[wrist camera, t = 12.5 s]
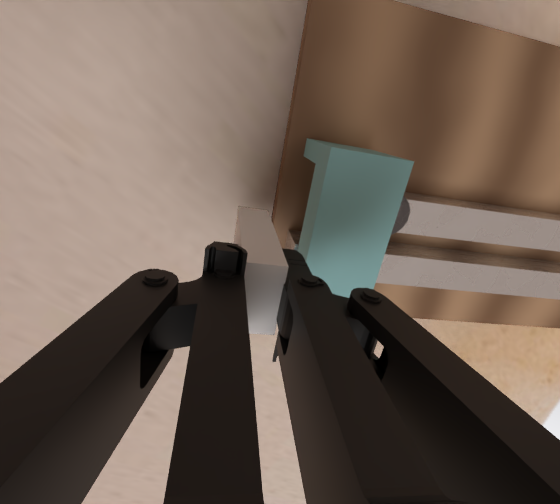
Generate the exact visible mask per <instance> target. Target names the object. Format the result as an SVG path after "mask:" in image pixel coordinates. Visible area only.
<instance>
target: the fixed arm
mask: <svg viewBox="0 0 560 504" xmlns="http://www.w3.org/2000/svg"><path fill="white" fill-rule="evenodd" d="M301 232H302V231H295V230H288V234H287V239H286V244H285V249H292V250H297V251H298V246H299V241H300V236H301ZM376 283H383V284H394V285H405V286H416V287H427V288H438V289H449V290H460V291H471V292H482V293H493V294H503V295H514V296H525V297H536V298H547V299H558V300H560V262H555V261H546V260H538V259H530V258H521V257H513V256H504V255H496V254H488V253H479V252H471V251H463V250H454V249H446V248H437V247H429V246H421V245H412V244H404V243H395V242H388V245H387V249H386V252H385V255H384V258H383V261H382V264H381V267H380V270H379V274H378V277H377V280H376Z"/></svg>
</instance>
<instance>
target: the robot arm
mask: <svg viewBox="0 0 560 504" xmlns="http://www.w3.org/2000/svg"><path fill="white" fill-rule="evenodd" d="M178 282H179V280H178V278H177V276H176V275H175V274H173V273H172V272H168V271H165V270H159V269H147V270H144V271H140V272H137V273H136V274H134V275H132V276H131V277H130V278H129V279H127V280H126V281H125V282H124V283H122V284H121V285H120V286H119V287H118V288H116V289H115V290H114V291H113V292H111V293H110V294H109V295H108V296H107V297H105V298H104V299H103V300H102V301H100V302H99V303H98V304H97V305H96V306H94V307H93V308H92V309H91V310H89V311H88V312H87V313H86V314H85V315H83V316H82V317H81V318H80V319H78V320H77V321H76V322H75V323H74V324H72V325H71V326H70V327H69V328H67V329H66V330H65V331H64V332H63V333H61V334H60V335H59V336H58V337H56V338H55V339H54V340H53V341H51V342H50V343H49V344H48V345H47V346H45V347H44V348H43V349H42V350H40V351H39V352H38V353H37V354H36V355H34V356H33V357H32V358H31V359H29V360H28V361H27V362H26V363H25V364H23V365H22V366H21V367H20V368H18V369H17V370H16V371H15V372H14V373H12V374H11V375H10V376H9V377H7V378H6V379H5V380H4V381H3V382H1V383H0V504H81V503H82V502H83V500H84V498H85V497H86V495H87V494H88V492H89V490H90V489H91V487H92V485H93V484H94V482H95V481H96V479H97V477H98V476H99V474H100V472H101V471H102V469H103V468H104V466H105V464H106V463H107V461H108V459H109V458H110V456H111V455H112V453H113V451H114V450H115V448H116V446H117V445H118V443H119V442H120V440H121V438H122V437H123V435H124V433H125V432H126V430H127V429H128V427H129V425H130V424H131V422H132V421H133V419H134V417H135V416H136V414H137V412H138V411H139V409H140V408H141V406H142V404H143V403H144V401H145V399H146V398H147V396H148V395H149V393H150V391H151V390H152V388H153V386H154V385H155V383H156V382H157V380H158V378H159V377H160V375H161V373H162V372H163V370H164V369H165V367H166V365H167V364H168V362H169V361H170V359H171V357H172V355H173V352H174V349H175V348H181V347H187V346H190V351H189V357H188V363H187V369H186V375H185V380H184V386H183V392H182V398H181V404H180V410H179V416H178V422H177V427H176V433H175V439H174V445H173V451H172V457H171V463H170V468H169V474H168V480H167V486H166V492H165V498H164V503H163V504H264V501H263V493H262V481H261V469H260V457H259V445H258V433H257V422H256V410H255V398H254V386H253V374H252V362H251V350H250V338H249V333H250V334H267V335H274V334H275V329H276V324H278V329H279V331H278V336H277V341H276V345H275V350H274V355H273V361H272V362H276V358H277V356H279V361H280V366H281V371H282V377H283V382H284V387H285V393H286V398H287V403H288V408H289V414H290V419H291V424H292V430H293V435H294V440H295V445H296V451H297V456H298V461H299V466H300V472H301V477H302V482H303V488H304V493H305V498H306V503H307V504H560V440H559V439H557V438H556V437H555V436H554V435H553V434H552V433H550V432H549V431H548V430H547V429H545V428H544V427H543V426H542V425H541V424H539V423H538V422H537V421H536V420H535V419H533V418H532V417H531V416H530V415H529V414H527V413H526V412H525V411H524V410H522V409H521V408H520V407H519V406H518V405H516V404H515V403H514V402H513V401H512V400H510V399H509V398H508V397H507V396H506V395H504V394H503V393H502V392H501V391H500V390H498V389H497V388H496V387H495V386H493V385H492V384H491V383H490V382H489V381H487V380H486V379H485V378H484V377H483V376H481V375H480V374H479V373H478V372H477V371H475V370H474V369H473V368H472V367H470V366H469V365H468V364H467V363H466V362H464V361H463V360H462V359H461V358H460V357H458V356H457V355H456V354H455V353H454V352H452V351H451V350H450V349H449V348H447V347H446V346H445V345H444V344H443V343H441V342H440V341H439V340H438V339H437V338H435V337H434V336H433V335H432V334H431V333H429V332H428V331H427V330H426V329H424V328H423V327H422V326H421V325H420V324H418V323H417V322H416V321H415V320H414V319H412V318H411V317H410V316H409V315H408V314H406V313H405V312H404V311H403V310H401V309H400V308H399V307H398V306H397V305H395V304H394V303H393V302H392V301H391V300H389V299H388V298H387V297H386V296H384V295H383V294H381V293H379V292H377V291H375V290H374V289H369V288H355V289H353V290H352V291H351V293H350V297H349V298H347V297H343V296H339V295H335V294H332V292H331V290H330V288H329V286H328V285H327V283H326V282H325V281H324V280H322V279H321V278H319V277H317V276H314V275H312V273H311V271H310V269H309V267H308V265H307V263H306V262H305V259H304V257H303V255H302V254H300V253H299V252H298V251H297V250H292V249H283V248H282V247H281V245H280V242H279V239H278V237H277V234H276V231H275V228H274V226H273V223H272V220H271V218H270V215H269V212H268V210H261V209H254V208H247V207H238V214H237V222H236V229H235V237H234V244H232V243H223V242H215V241H214V242H213V243H212V244H210V245H208V246H207V247H206V248H205V257H204V267H203V275H202V277H200V278H199V279H197V280H194V281H191V282H184V283H178ZM377 341H379V342H380V343H381V344H382V345H383V346H384V348H383V351H382V354H381V356H380V358H378V357H377V356H376V355H375V354H374V353H373V352H374V350H375V347H376V344H377Z"/></svg>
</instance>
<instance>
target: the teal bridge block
mask: <svg viewBox="0 0 560 504" xmlns="http://www.w3.org/2000/svg"><path fill="white" fill-rule="evenodd" d="M304 157H306V158H307V159H309V160H311V161H312V162H314V163H315V169H314V174H313V179H312V183H311V188H310V193H309V198H308V203H307V208H306V212H305V217H304V222H303V227H302V232H301V236H300V241H299V246H298V252H299V253H300V254H302V255H303V257H304V259H305V262H306V263H307V265H308V267H309V269H310V271H311V273H312V275H314V276H317V277H319V278H321V279H322V280H324V281H325V282H326V283H327V285H328V286H329V288H330V290H331V292H332V294H335V295H339V296H343V297H347V298H349V297H350V293H351V291H352V290H353V289H355V288H369V289H374V286H375V283H376V280H377V277H378V274H379V270H380V267H381V264H382V261H383V258H384V255H385V252H386V249H387V245H388V242H389V239H390V236H391V233H392V230H393V227H394V224H395V220H396V217H397V214H398V211H399V208H400V205H401V202H402V199H403V195H404V192H405V189H406V186H407V183H408V180H409V177H410V173H411V170H412V167H413V164H414V161H411V160H407V159H403V158H400V157H396V156H392V155H389V154H385V153H382V152H378V151H374V150H370V149H365V148H359V147H354V146H348V145H342V144H337V143H331V142H325V141H320V140H314V139H308V138H307V140H306V145H305V151H304Z"/></svg>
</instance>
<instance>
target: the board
mask: <svg viewBox="0 0 560 504" xmlns="http://www.w3.org/2000/svg"><path fill="white" fill-rule="evenodd" d="M307 138H308V139H314V140H320V141H325V142H331V143H337V144H342V145H348V146H354V147H359V148H365V149H370V150H374V151H378V152H382V153H385V154H389V155H392V156H396V157H400V158H403V159H407V160H411V161H414V164H413V167H412V170H411V173H410V177H409V180H408V183H407V186H406V189H405V192H407V193H414V194H421V195H428V196H435V197H442V198H449V199H456V200H463V201H470V202H476V203H483V204H490V205H497V206H504V207H511V208H518V209H525V210H532V211H539V212H546V213H553V214H560V47H558V46H555V45H551V44H547V43H544V42H540V41H537V40H533V39H529V38H526V37H522V36H519V35H515V34H511V33H508V32H504V31H501V30H497V29H493V28H490V27H486V26H483V25H479V24H476V23H472V22H468V21H465V20H461V19H458V18H454V17H450V16H447V15H443V14H440V13H436V12H432V11H429V10H425V9H422V8H418V7H414V6H411V5H407V4H404V3H400V2H396V1H393V0H308V5H307V11H306V17H305V23H304V29H303V35H302V41H301V47H300V53H299V59H298V64H297V70H296V76H295V82H294V88H293V94H292V100H291V106H290V112H289V118H288V124H287V130H286V136H285V142H284V148H283V154H282V160H281V166H280V172H279V178H278V184H277V190H276V195H275V201H274V207H273V213H272V219H271V220H272V223H273V226H274V228H275V231H276V234H277V237H278V239H279V242H280V245H281V247H282V248H283V249H285V244H286V239H287V234H288V230H295V231H302V227H303V222H304V217H305V212H306V208H307V203H308V198H309V193H310V188H311V183H312V179H313V174H314V169H315V163H314V162H312V161H311V160H309V159H307V158H306V157H304V151H305V145H306V140H307ZM389 242H395V243H404V244H412V245H421V246H429V247H437V248H446V249H454V250H463V251H471V252H479V253H488V254H496V255H504V256H513V257H521V258H530V259H538V260H546V261H555V262H560V252H558V251H550V250H541V249H533V248H524V247H516V246H507V245H499V244H490V243H481V242H473V241H464V240H456V239H447V238H439V237H430V236H422V235H413V234H405V233H394V234H392V235H391V236H390V239H389ZM374 290H375V291H377V292H379V293H381V294H383V295H384V296H386V297H387V298H388V299H389V300H391V301H392V302H393V303H394V304H395V305H397V306H398V307H399V308H400V309H401V310H403V311H404V312H405V313H406V314H408V315H409V316H410V317H411V318H420V319H435V320H449V321H463V322H477V323H491V324H505V325H520V326H534V327H548V328H560V300H558V299H547V298H536V297H525V296H514V295H503V294H493V293H482V292H471V291H460V290H449V289H438V288H427V287H416V286H405V285H394V284H383V283H375V286H374Z"/></svg>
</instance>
